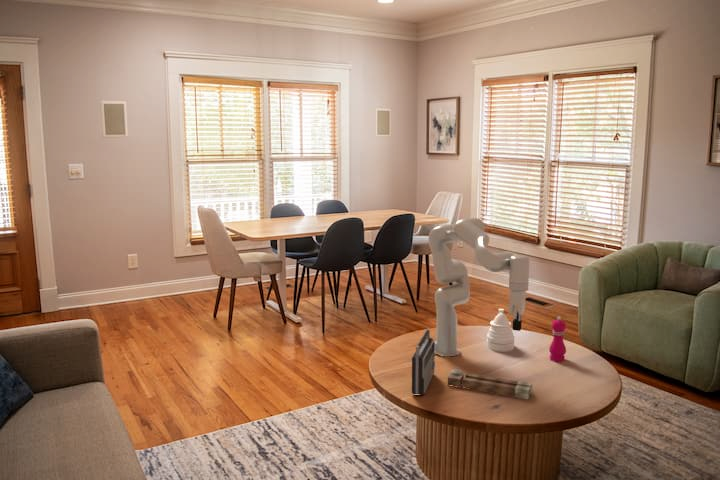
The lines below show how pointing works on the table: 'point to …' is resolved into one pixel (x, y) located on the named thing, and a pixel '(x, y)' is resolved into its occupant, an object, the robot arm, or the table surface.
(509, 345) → the honey pot
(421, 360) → the radio
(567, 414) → the table surface
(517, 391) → the tongs base
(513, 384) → the tongs arm
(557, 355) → the pepper mill
